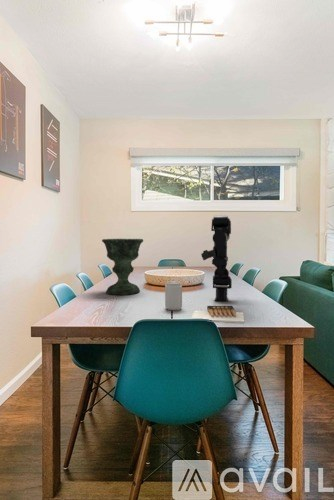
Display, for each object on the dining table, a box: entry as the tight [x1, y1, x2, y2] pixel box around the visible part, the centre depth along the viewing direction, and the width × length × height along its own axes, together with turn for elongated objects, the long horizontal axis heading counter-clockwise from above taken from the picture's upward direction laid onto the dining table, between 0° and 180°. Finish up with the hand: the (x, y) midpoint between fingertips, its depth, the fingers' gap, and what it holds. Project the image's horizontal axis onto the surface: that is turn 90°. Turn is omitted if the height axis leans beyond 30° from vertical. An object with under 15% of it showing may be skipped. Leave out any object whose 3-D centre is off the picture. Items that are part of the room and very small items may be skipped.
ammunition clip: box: [206, 305, 236, 317], centre depth 135 cm, size 11×2×12 cm
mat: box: [190, 309, 245, 324], centre depth 133 cm, size 14×20×1 cm
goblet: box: [101, 238, 144, 296], centre depth 185 cm, size 22×23×30 cm
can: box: [164, 280, 183, 311], centre depth 147 cm, size 8×8×12 cm
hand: (220, 278), depth 149 cm, fingers closed
